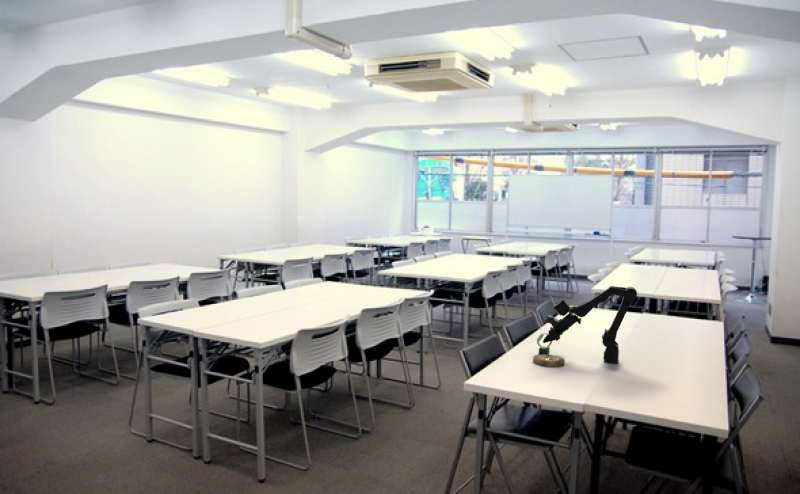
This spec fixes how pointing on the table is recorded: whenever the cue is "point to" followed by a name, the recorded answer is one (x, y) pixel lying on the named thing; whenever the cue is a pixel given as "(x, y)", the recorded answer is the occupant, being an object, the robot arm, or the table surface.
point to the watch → (543, 349)
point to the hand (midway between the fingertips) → (543, 341)
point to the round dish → (549, 360)
